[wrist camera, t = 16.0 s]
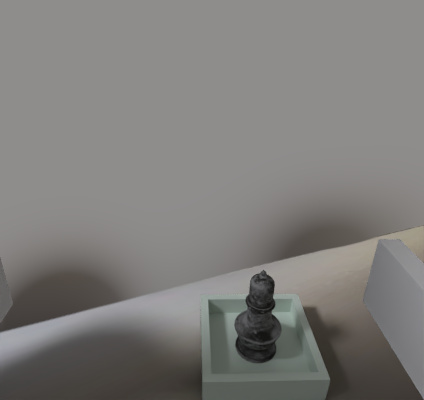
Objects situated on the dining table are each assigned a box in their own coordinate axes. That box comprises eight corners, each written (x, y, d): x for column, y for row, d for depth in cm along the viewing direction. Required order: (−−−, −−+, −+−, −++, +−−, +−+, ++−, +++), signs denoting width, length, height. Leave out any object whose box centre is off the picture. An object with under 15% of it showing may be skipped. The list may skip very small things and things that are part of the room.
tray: (202, 403, 40) (202, 382, 38) (200, 313, 52) (200, 294, 51) (325, 400, 40) (330, 379, 39) (294, 312, 53) (297, 293, 51)
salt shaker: (252, 322, 50) (259, 250, 44) (287, 346, 46) (300, 271, 41) (223, 345, 46) (227, 269, 41) (259, 374, 42) (268, 294, 37)
